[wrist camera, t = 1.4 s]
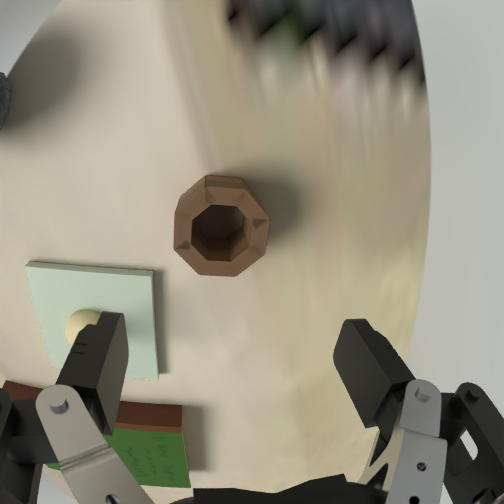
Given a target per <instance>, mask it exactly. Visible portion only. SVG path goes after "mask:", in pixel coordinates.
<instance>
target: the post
mask: <svg viewBox="0 0 504 504" xmlns="http://www.w3.org/2000/svg"><path fill="white" fill-rule="evenodd" d="M24 267H25V272H26V277H27V281H28V286H29V290H30V294H31V299H32V303H33V307H34V310H35V314H36V318H37V321H38V325H39V328H40V331H41V335H42V338H43V341H44V344H45V347H46V350H47V353H48V356H49V359H50V362H51V364H52V367H55V368H61V369H62V368H63V365H64V363H65V361H66V358H67V356H68V354H69V353H70V349H71V347H72V345H74V341H75V339H76V337H77V334H78V332H79V331H81V330H82V329H83V328H84V327H85V326H86V325H87V324H94V325H96V324H97V321H98V319H99V317H100V315H101V313H102V311H107V312H118V313H123V314H124V317H125V324H126V332H127V340H128V347H129V359H128V365H127V370H126V374H125V378H131V379H141V380H153V381H158V379H159V368H158V356H157V344H156V330H155V312H154V288H153V271H149V270H134V269H119V268H105V267H92V266H79V265H66V264H54V263H43V262H31V261H29V262H28V263H27V264H26V265H25V266H24Z"/></svg>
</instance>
